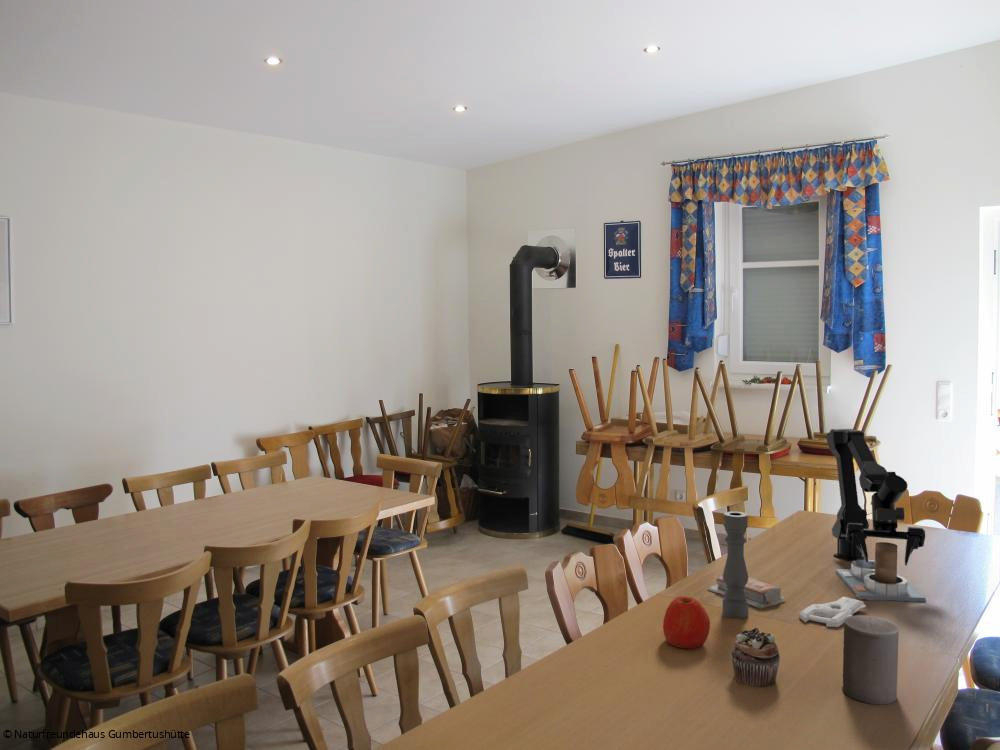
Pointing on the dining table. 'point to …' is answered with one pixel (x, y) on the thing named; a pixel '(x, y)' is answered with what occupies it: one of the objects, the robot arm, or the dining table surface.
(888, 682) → the pillar candle
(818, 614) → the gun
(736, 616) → the candle holder
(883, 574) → the walnut peg
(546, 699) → the dining table surface
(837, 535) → the robot arm
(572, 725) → the dining table surface
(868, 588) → the socket board
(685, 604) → the apple
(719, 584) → the packaged product
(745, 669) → the cupcake
